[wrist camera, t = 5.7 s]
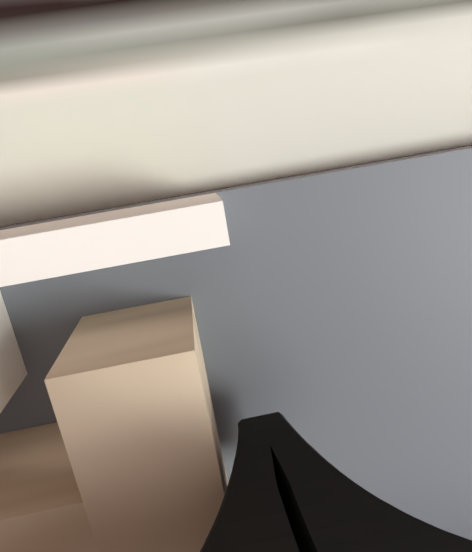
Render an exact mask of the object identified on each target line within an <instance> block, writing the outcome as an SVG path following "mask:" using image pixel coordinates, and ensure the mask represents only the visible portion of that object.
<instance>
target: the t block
mask: <svg viewBox="0 0 472 552" xmlns="http://www.w3.org/2000/svg"><path fill="white" fill-rule="evenodd" d="M44 381H45V385H46V388H47V391H48V394H49V397H50V400H51V404H52V407H53V410H54V413H55V416H56V419H57V422H56V423H51V424H46V425H41V426H36V427H31V428H26V429H22V430H17V431H12V432H7V433H2V434H0V552H200V550H201V548H202V547H203V545H204V542H205V540H206V538H207V536H208V534H209V532H210V530H211V528H212V526H213V524H214V521H215V519H216V516H217V514H218V512H219V509H220V506H221V504H222V501H223V498H224V495H225V492H226V489H227V486H228V479H227V474H226V469H225V464H224V459H223V454H222V449H221V444H220V439H219V434H218V429H217V424H216V419H215V414H214V409H213V404H212V399H211V394H210V389H209V383H208V378H207V373H206V368H205V363H204V358H203V353H202V348H201V343H200V338H199V333H198V328H197V323H196V318H195V313H194V308H193V303H192V298H191V296H189V297H184V298H179V299H173V300H168V301H163V302H157V303H152V304H147V305H142V306H136V307H131V308H126V309H120V310H115V311H110V312H105V313H99V314H94V315H89V316H83V317H82V318H81V319H80V321H79V323H78V324H77V326H76V328H75V329H74V331H73V333H72V334H71V336H70V338H69V339H68V341H67V343H66V344H65V346H64V348H63V349H62V351H61V353H60V354H59V356H58V358H57V359H56V361H55V363H54V364H53V366H52V368H51V369H50V371H49V373H48V374H47V376H46V378H45V379H44Z"/></svg>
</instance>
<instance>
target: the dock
mask: <svg viewBox="0 0 472 552" xmlns="http://www.w3.org/2000/svg"><path fill="white" fill-rule="evenodd" d="M228 245H230V241H229V235H228V229H227V223H226V217H225V211H224V205H223V201H222V199H221V198H220V197H219V196H218V195H217V193H211V194H206V195H200V196H194V197H188V198H183V199H177V200H171V201H165V202H160V203H154V204H148V205H142V206H137V207H131V208H125V209H119V210H114V211H108V212H102V213H97V214H91V215H85V216H79V217H74V218H68V219H62V220H56V221H51V222H45V223H39V224H33V225H28V226H22V227H16V228H10V229H5V230H0V287H4V286H9V285H15V284H20V283H26V282H31V281H37V280H42V279H48V278H53V277H59V276H64V275H70V274H75V273H81V272H86V271H92V270H97V269H102V268H108V267H113V266H119V265H124V264H130V263H135V262H141V261H146V260H152V259H157V258H163V257H168V256H174V255H179V254H185V253H190V252H195V251H201V250H206V249H212V248H217V247H223V246H228ZM26 376H27V371H26V368H25V365H24V361H23V358H22V355H21V352H20V349H19V346H18V343H17V340H16V337H15V334H14V331H13V328H12V325H11V322H10V319H9V316H8V313H7V310H6V307H5V304H4V301H3V298H2V294H1V291H0V413H1V412H2V410H3V409H4V407H5V406H6V405H7V403H8V402H9V400H10V399H11V397H12V396H13V394H14V393H15V392H16V390H17V389H18V387H19V386H20V384H21V383H22V381H23V380H24V378H25V377H26Z"/></svg>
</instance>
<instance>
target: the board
mask: <svg viewBox="0 0 472 552" xmlns="http://www.w3.org/2000/svg"><path fill="white" fill-rule="evenodd" d="M211 193H217V195H218V196H219V197H220V198H221V199H222V201H223V205H224V211H225V217H226V223H227V229H228V235H229V241H230V245H228V246H223V247H217V248H212V249H206V250H201V251H195V252H190V253H185V254H179V255H174V256H168V257H163V258H157V259H152V260H146V261H141V262H135V263H130V264H124V265H119V266H113V267H108V268H102V269H97V270H92V271H86V272H81V273H75V274H70V275H64V276H59V277H53V278H48V279H42V280H37V281H31V282H26V283H20V284H15V285H9V286H4V287H0V291H1V294H2V298H3V301H4V304H5V307H6V310H7V313H8V316H9V319H10V322H11V325H12V328H13V331H14V334H15V337H16V340H17V343H18V346H19V349H20V352H21V355H22V358H23V361H24V365H25V368H26V371H27V376H26V377H25V378H24V380H23V381H22V383H21V384H20V386H19V387H18V389H17V390H16V392H15V393H14V394H13V396H12V397H11V399H10V400H9V402H8V403H7V405H6V406H5V407H4V409H3V410H2V412H1V413H0V434H2V433H7V432H12V431H17V430H22V429H26V428H31V427H36V426H41V425H46V424H51V423H56V422H57V419H56V416H55V413H54V410H53V407H52V404H51V400H50V397H49V394H48V391H47V388H46V385H45V381H44V379H45V378H46V376H47V374H48V373H49V371H50V369H51V368H52V366H53V364H54V363H55V361H56V359H57V358H58V356H59V354H60V353H61V351H62V349H63V348H64V346H65V344H66V343H67V341H68V339H69V338H70V336H71V334H72V333H73V331H74V329H75V328H76V326H77V324H78V323H79V321H80V319H81V318H82V317H83V316H89V315H94V314H99V313H105V312H110V311H115V310H120V309H126V308H131V307H136V306H142V305H147V304H152V303H157V302H163V301H168V300H173V299H179V298H184V297H189V296H191V298H192V303H193V308H194V313H195V318H196V323H197V328H198V333H199V338H200V343H201V348H202V353H203V358H204V363H205V368H206V373H207V378H208V383H209V389H210V394H211V399H212V404H213V409H214V414H215V419H216V424H217V429H218V434H219V439H220V444H221V449H222V454H223V459H224V464H225V469H226V474H227V479H228V482H229V479H230V476H231V472H232V468H233V463H234V459H235V454H236V449H237V442H238V423H239V422H240V420H241V419H246V418H251V417H256V416H260V415H265V414H270V413H275V412H279V413H281V414H282V415H283V416H284V417H285V418H286V420H287V421H288V422H289V423H290V424H291V426H292V427H293V428H294V429H295V430H296V431H297V432H298V433H299V434H300V435H301V436H302V438H303V439H304V440H305V441H306V442H307V443H309V444H310V445H311V446H312V447H313V448H314V449H315V450H316V451H317V452H318V453H319V454H320V455H321V456H322V457H324V458H325V459H326V460H327V461H328V462H329V463H331V464H332V465H333V466H334V467H335V468H337V469H338V470H339V471H340V472H342V473H343V474H344V475H346V476H347V477H348V478H349V479H351V480H352V481H354V482H355V483H356V484H358V485H359V486H361V487H362V488H364V489H365V490H367V491H368V492H370V493H371V494H373V495H375V496H376V497H378V498H379V499H381V500H383V501H385V502H387V503H388V504H390V505H392V506H394V507H396V508H398V509H399V510H401V511H403V512H405V513H407V514H409V515H411V516H413V517H415V518H417V519H419V520H422V521H424V522H426V523H428V524H430V525H433V526H435V527H437V528H440V529H442V530H444V531H447V532H450V533H453V534H455V535H458V536H461V537H464V538H466V539H469V540H472V145H471V146H465V147H459V148H453V149H448V150H442V151H436V152H430V153H425V154H419V155H413V156H407V157H402V158H396V159H390V160H384V161H379V162H373V163H367V164H361V165H356V166H350V167H344V168H338V169H333V170H327V171H321V172H315V173H309V174H304V175H298V176H292V177H286V178H281V179H275V180H269V181H263V182H258V183H252V184H246V185H240V186H235V187H229V188H223V189H217V190H212V191H206V192H200V193H194V194H189V195H183V196H177V197H171V198H166V199H160V200H154V201H148V202H143V203H137V204H131V205H125V206H120V207H114V208H108V209H102V210H97V211H91V212H85V213H79V214H74V215H68V216H62V217H56V218H50V219H45V220H39V221H33V222H27V223H22V224H16V225H10V226H4V227H0V230H5V229H10V228H16V227H22V226H28V225H33V224H39V223H45V222H51V221H56V220H62V219H68V218H74V217H79V216H85V215H91V214H97V213H102V212H108V211H114V210H119V209H125V208H131V207H137V206H142V205H148V204H154V203H160V202H165V201H171V200H177V199H183V198H188V197H194V196H200V195H206V194H211Z"/></svg>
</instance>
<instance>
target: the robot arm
mask: <svg viewBox="0 0 472 552" xmlns="http://www.w3.org/2000/svg"><path fill="white" fill-rule="evenodd" d="M200 552H472V540H469V539H466V538H464V537H461V536H458V535H455V534H453V533H450V532H447V531H444V530H442V529H440V528H437V527H435V526H433V525H430V524H428V523H426V522H424V521H422V520H419V519H417V518H415V517H413V516H411V515H409V514H407V513H405V512H403V511H401V510H399V509H398V508H396V507H394V506H392V505H390V504H388V503H387V502H385V501H383V500H381V499H379V498H378V497H376V496H375V495H373V494H371V493H370V492H368V491H367V490H365V489H364V488H362V487H361V486H359V485H358V484H356V483H355V482H354V481H352V480H351V479H349V478H348V477H347V476H346V475H344V474H343V473H342V472H340V471H339V470H338V469H337V468H335V467H334V466H333V465H332V464H331V463H329V462H328V461H327V460H326V459H325V458H324V457H322V456H321V455H320V454H319V453H318V452H317V451H316V450H315V449H314V448H313V447H312V446H311V445H310V444H309V443H307V442H306V441H305V440H304V439H303V438H302V436H301V435H300V434H299V433H298V432H297V431H296V430H295V429H294V428H293V427H292V426H291V424H290V423H289V422H288V421H287V420H286V418H285V417H284V416H283V415H282V414H281V413H279V412H275V413H270V414H265V415H260V416H256V417H251V418H246V419H241V420H240V422H239V423H238V442H237V449H236V454H235V459H234V463H233V468H232V472H231V476H230V479H229V482H228V486H227V489H226V492H225V495H224V498H223V501H222V504H221V506H220V509H219V512H218V514H217V516H216V519H215V521H214V524H213V526H212V528H211V530H210V532H209V534H208V536H207V538H206V540H205V542H204V545H203V547H202V548H201V550H200Z"/></svg>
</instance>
